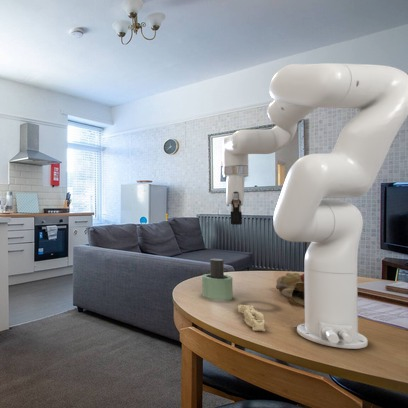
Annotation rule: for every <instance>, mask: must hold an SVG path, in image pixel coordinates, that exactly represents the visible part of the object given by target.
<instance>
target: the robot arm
mask: <svg viewBox="0 0 408 408" xmlns="http://www.w3.org/2000/svg"><path fill="white" fill-rule="evenodd" d="M268 87H269V88H268V91H269V94H270V95H269V96H270V97H271V98H272V99H273V100H272V101H271V102H270V103H269V105H268V106H267V111H266V112H267V116H268V118H269V120H270V121H271V123H273V124H274V125H275V126H274V127H272V128H270V129H255V128H253V129H245V128H244V129H238V130H237V131H235V132H233V134H229V135H227V136H225V137H224V138H223V140H222V177H223V178H226V182H225V183H226V184H225V186H226V187H225V188H226V189H225V191H226V192H225V193H226V196H225V197H226V199H225V201H226V203H225V204H226V207H229V206H230V207H231V210H230V225H232V226H233V225H235V226H236V225H237V226H239V225H242V224H243V212H242V206H244V201H245V178H246V177H249V155H270V154H273V153H276V152H277V151H280V150H281V149H282V148H283V147H285V146H287V145H288V144H289V143H290V142H292V140H293V139H294V137H295V135H296V133H297V129H298V123H299V122H301V121H302V120H303V119H304V118H305V117H307V116H308V115H309V114H311V113H312V112H313V111H314V110H316V109H317V108H333V109H334V108H335V109H336V108H337V109H358V111H359V112H357V113H356V114H355V115H354V116H352V117H351V119H349V120H348V121H347V122H346V124H344V126H343V127H342V129H341V130H340V131H339V133H338V137H337V140H336V142H335V145H334V146H333V149H332V150H331V151H330V152H328V153H321V152H320V153H310V154H306V155H304V156H301V157H300V158H298V159H297V160H296V161H295V162H294V163H293V164H292V165H291V167H290V168H289V169H288V171H287V174H286V177H285V179H284V182H283V186H282V188H281V191H280V194H279V197H278V200H277V203H276V206H275V208H274V213H273V217H272V218H273V220H272V225H273V229H274V232H275V233H276V235H277V236H278V237H279V238H281V239H282V240H283V241H287V242H290V243H291V242H293V243H310V244H309V246H308V247H307V249H306V251H305V255H304V263H303V265H304V267H303V270H304V271H303V272H304V273H303V274H304V285H305V307H304V323H300V324H297V327H296V332H297V334H298V335H299V336H301V337H302V338H304V339H306V340H308V341H310V342H313V343H316V344H319V345H322V346H323V345H324V346H327V347H332V348H337V349H346V350H347V349H348V350H359V349H364V348H366V347H368V344H369V342H368V340H369V339H368V338H367V337H366V336H365V335H363V334H362V333H359V301H358V299H359V297H358V296H359V295H358V290H359V289H358V256H359V246H360V241H361V236H362V233H363V228H364V218H363V215H362V213H361V211H360V209H359V208H358V207H357V206H355V205H354V204H352V203H351V202H348V201H345V200H340V199H351V198H358V197H362V196H364V195H365V194H367V193H368V192H369V191H370V189H371V188H372V186H373V184H374V183H375V180H376V179H377V177H378V174H379V172H380V170H381V167H382V166H383V163H384V162H385V160H386V158H387V156H388V153H389V151H390V149H391V146H392V145H393V142H394V140H395V138H396V136H397V134H398V132H399V131H400V129H401V127H402V126H403V124H404V123H405V122H406V119H407V118H408V74H407V72H405V71H403V70H401V69H400V68H398V67H393V66H389V65H384V64H383V65H382V64H381V65H380V64H367V63H364V64H363V63H340V62H339V63H335V62H333V63H331V62H327V63H326V62H325V63H323V62H322V63H290V64H287V65H284V66H283V67H281V68H280V69H279V70H278V71H276V73H275V74H274V75H273V77H272V78H271V80H270V83H269V85H268Z"/></svg>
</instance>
